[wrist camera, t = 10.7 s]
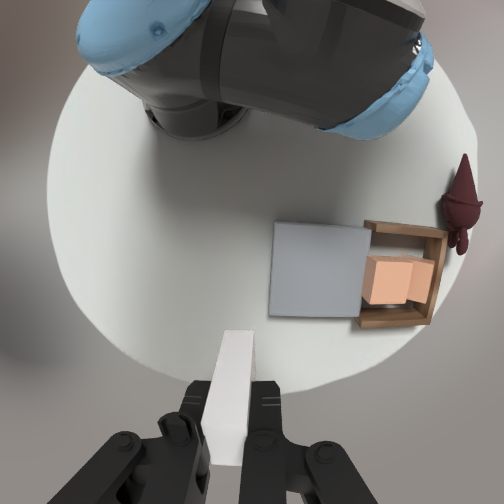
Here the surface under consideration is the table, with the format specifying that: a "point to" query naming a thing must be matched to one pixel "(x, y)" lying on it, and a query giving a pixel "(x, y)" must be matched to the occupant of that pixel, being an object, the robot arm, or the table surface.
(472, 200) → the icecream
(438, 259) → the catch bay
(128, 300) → the table surface
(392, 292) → the tile
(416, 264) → the tile
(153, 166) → the table surface
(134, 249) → the table surface
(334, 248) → the board
